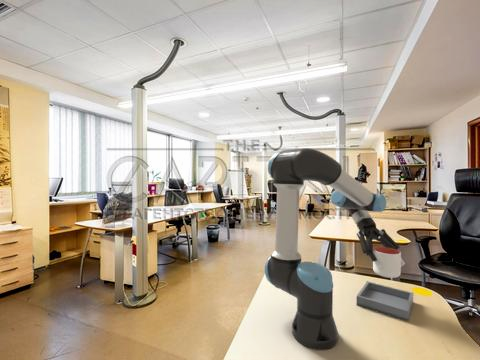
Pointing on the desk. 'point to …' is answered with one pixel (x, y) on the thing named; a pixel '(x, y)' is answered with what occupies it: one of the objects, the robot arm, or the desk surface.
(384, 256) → the cup
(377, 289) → the tray
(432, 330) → the desk surface
